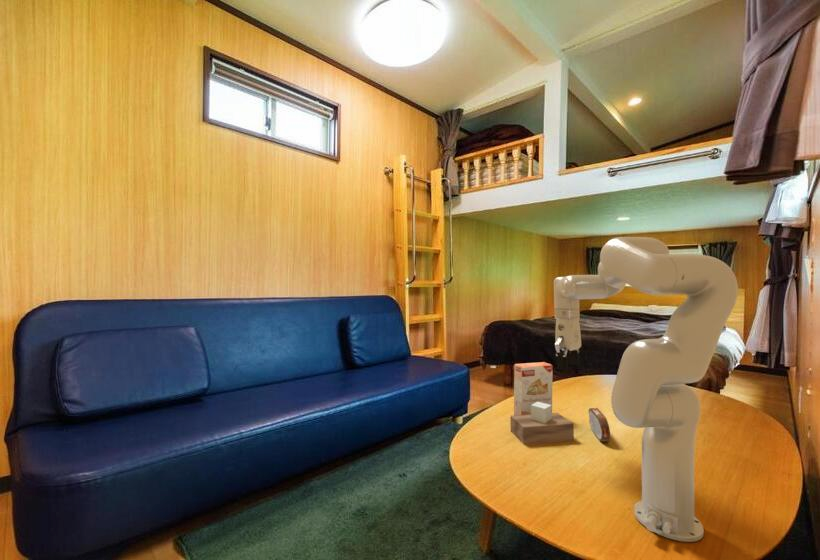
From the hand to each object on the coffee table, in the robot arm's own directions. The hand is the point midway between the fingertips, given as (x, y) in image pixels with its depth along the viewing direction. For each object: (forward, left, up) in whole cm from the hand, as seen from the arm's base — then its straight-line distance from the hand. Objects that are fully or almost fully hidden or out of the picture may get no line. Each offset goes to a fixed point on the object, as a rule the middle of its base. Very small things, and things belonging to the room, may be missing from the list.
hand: (568, 366), depth 116 cm
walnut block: (+1, +10, -26) cm, 28 cm away
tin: (+15, -4, -26) cm, 30 cm away
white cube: (+1, +10, -20) cm, 23 cm away
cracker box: (+15, +20, -26) cm, 36 cm away
